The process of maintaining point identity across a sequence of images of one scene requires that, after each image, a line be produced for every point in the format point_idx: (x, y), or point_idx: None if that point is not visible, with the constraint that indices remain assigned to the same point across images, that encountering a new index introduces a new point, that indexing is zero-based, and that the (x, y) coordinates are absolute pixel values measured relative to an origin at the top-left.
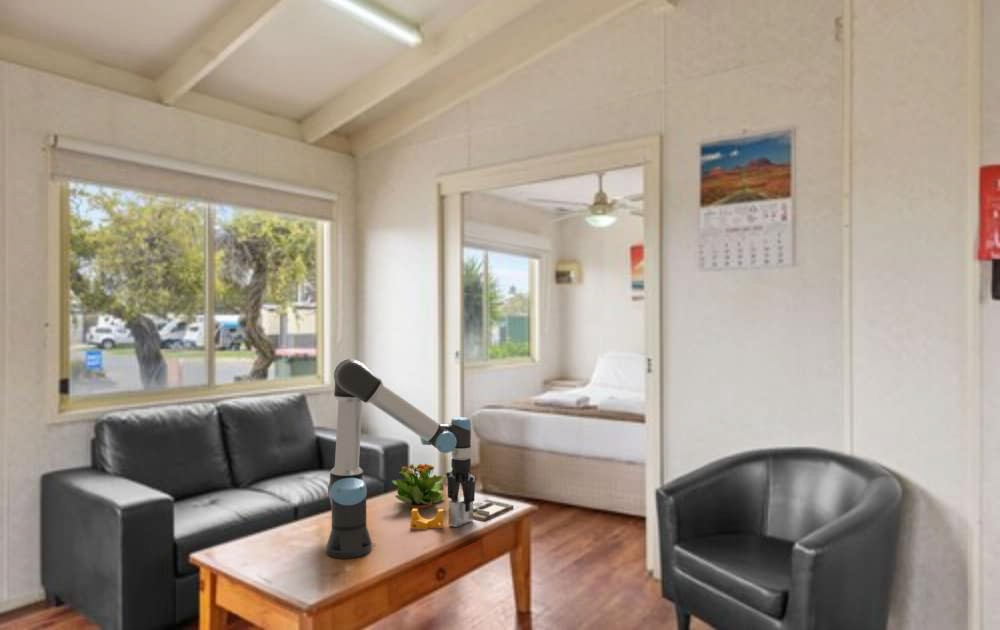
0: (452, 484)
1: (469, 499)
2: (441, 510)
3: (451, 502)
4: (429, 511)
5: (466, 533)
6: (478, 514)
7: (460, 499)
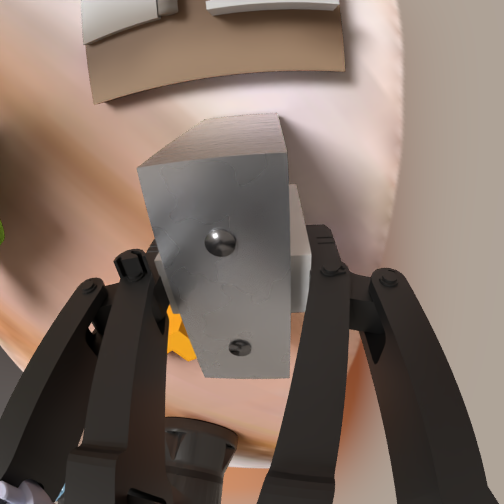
0: (57, 405)
1: (381, 343)
2: (192, 349)
3: (235, 376)
4: (10, 180)
5: (369, 276)
6: (250, 31)
7: (229, 308)
